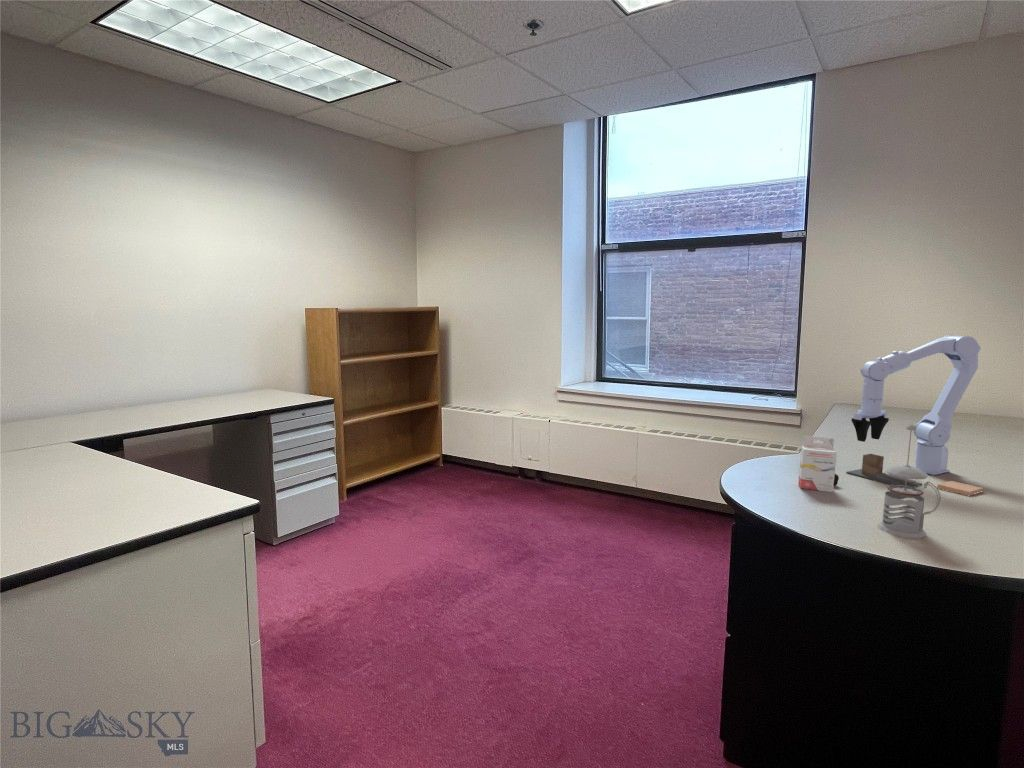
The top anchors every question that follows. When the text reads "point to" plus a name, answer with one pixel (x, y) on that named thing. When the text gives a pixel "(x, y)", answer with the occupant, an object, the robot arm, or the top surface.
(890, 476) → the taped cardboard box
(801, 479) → the ink cartridge box
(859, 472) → the tool mat
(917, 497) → the french press
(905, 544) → the top surface
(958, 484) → the tile
